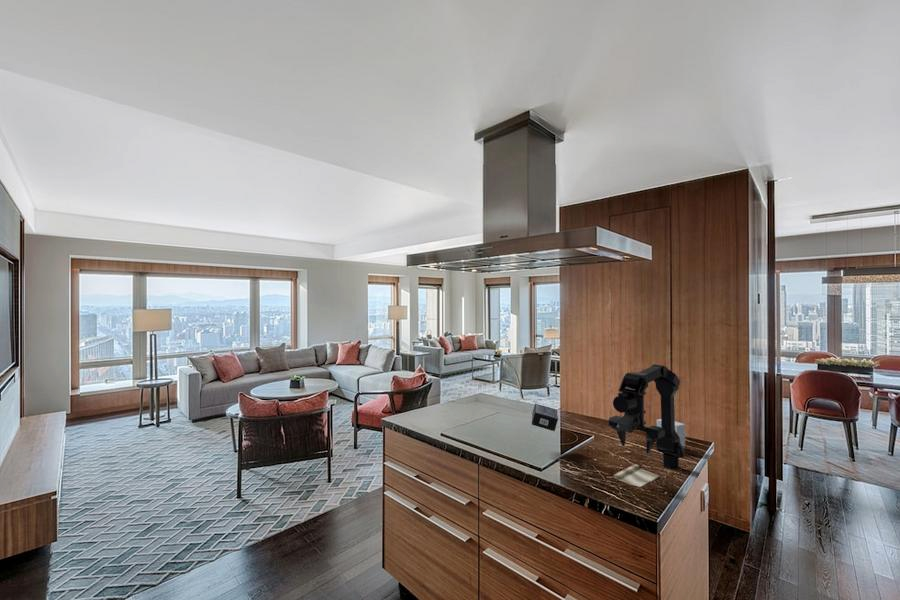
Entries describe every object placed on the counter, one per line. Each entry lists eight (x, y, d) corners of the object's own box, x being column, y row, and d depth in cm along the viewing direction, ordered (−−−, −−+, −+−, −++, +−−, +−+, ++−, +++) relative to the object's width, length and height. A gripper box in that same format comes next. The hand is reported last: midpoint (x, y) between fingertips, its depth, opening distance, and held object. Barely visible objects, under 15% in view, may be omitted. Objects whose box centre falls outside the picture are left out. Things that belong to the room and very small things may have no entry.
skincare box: (685, 446, 176) (685, 423, 176) (677, 448, 173) (677, 425, 173) (664, 438, 186) (664, 417, 186) (655, 441, 183) (655, 419, 183)
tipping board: (635, 467, 154) (635, 464, 154) (659, 476, 146) (659, 472, 146) (613, 478, 145) (613, 474, 145) (638, 489, 137) (638, 484, 137)
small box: (554, 432, 166) (554, 421, 177) (558, 419, 165) (557, 409, 175) (531, 425, 169) (531, 415, 179) (534, 412, 167) (535, 402, 177)
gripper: (599, 405, 142) (600, 446, 142) (650, 418, 127) (650, 464, 127) (616, 400, 149) (616, 440, 149) (665, 412, 134) (665, 456, 134)
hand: (635, 449), depth 139 cm, fingers open, 9 cm apart
